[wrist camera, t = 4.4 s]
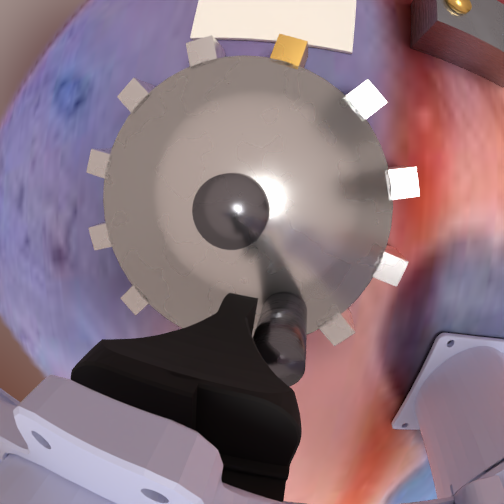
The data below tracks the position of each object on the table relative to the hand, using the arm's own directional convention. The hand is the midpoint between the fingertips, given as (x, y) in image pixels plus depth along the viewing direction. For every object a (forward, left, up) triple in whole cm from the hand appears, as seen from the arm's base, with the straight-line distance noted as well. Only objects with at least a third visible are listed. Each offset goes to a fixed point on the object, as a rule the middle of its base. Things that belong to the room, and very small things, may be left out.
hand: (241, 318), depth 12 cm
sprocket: (+1, -4, -5) cm, 6 cm away
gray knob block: (-9, -15, -5) cm, 18 cm away
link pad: (+1, -14, -5) cm, 15 cm away
